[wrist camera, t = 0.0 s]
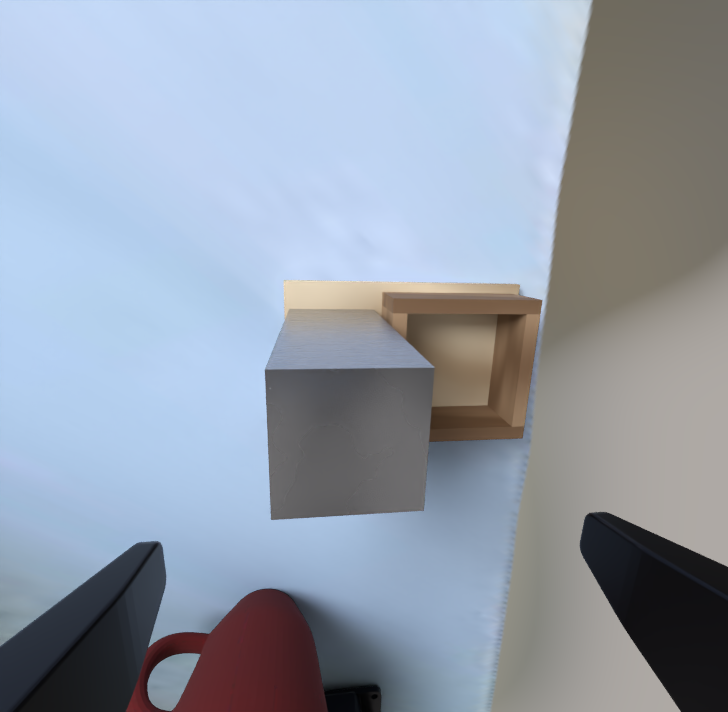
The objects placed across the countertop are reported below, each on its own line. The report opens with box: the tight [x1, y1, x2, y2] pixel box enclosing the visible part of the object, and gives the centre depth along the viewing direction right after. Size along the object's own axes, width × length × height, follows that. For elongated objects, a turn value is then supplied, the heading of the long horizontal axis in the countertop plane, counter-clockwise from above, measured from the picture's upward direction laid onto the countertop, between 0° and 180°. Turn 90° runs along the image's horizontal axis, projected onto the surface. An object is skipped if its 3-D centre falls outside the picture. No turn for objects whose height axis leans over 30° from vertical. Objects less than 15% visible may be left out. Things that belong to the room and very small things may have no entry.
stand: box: [284, 280, 542, 442], centre depth 21 cm, size 8×13×4 cm, turn 89°
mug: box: [126, 589, 328, 712], centre depth 21 cm, size 11×8×10 cm
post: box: [265, 309, 435, 520], centre depth 16 cm, size 4×4×11 cm
